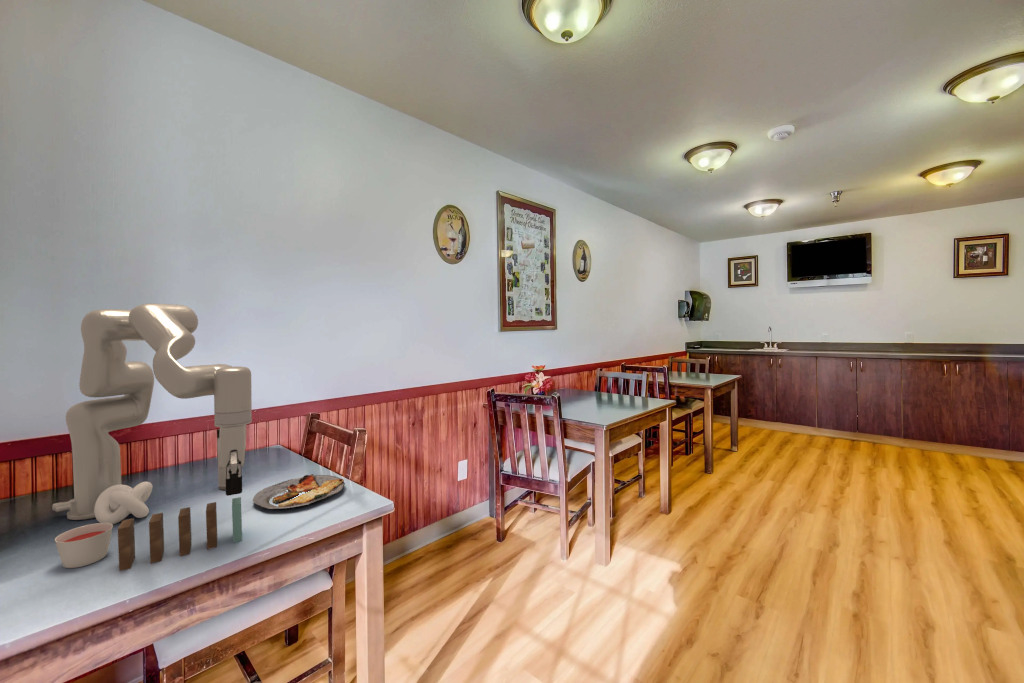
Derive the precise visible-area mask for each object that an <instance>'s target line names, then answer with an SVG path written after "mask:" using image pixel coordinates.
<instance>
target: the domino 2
mask: <svg viewBox="0 0 1024 683" xmlns="http://www.w3.org/2000/svg"><path fill="white" fill-rule="evenodd" d="M148 530H149V531H148V534H149V539H148V540H149V560H150V561H149V562H150V564H154V563H157V562H162V559H163V557H164V553H165V534H164V512H158V513H153V514H151V518H150V519H149V522H148Z"/></svg>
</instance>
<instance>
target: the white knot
mask: <svg viewBox="0 0 1024 683" xmlns="http://www.w3.org/2000/svg"><path fill="white" fill-rule="evenodd" d="M152 491H153V484H152V483H151V482H150V481H142V482H140V483H138V484H136V485H135V486H134V487H131V486H129V485H127V484H122V483H121V484H119V485H114V486H111V487H109V488H107V489H106V490H104V491H103V492H102V493H101V494H100V496H99V497H98V499H97V501H96V503H95V507H94V514H95V517H96V518H95V519H96V521H97V522H98V523H111V524H113V525H115V524H117V523H120V522H122V521H123V520H125V519H126V518H127V517H128V516H129V515H133V516H134V517H135V518H138V519H142V518H145V517H147V516H148V514H149V512H150V510H149V508H148V506H147V504H145V503H146V501H147V500H148V499H149V497H150V496H151V494H152ZM109 507H111V509H112V511H113V513H112V512H111V511H110V508H109Z"/></svg>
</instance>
